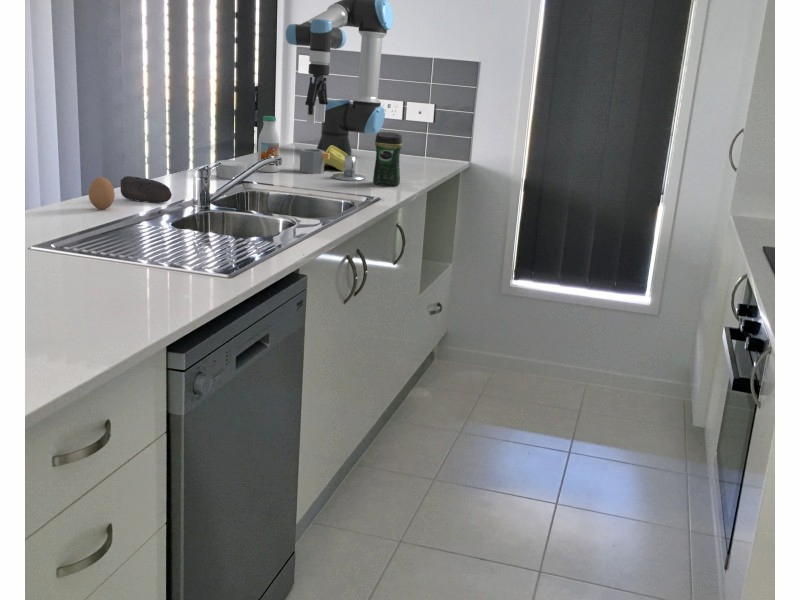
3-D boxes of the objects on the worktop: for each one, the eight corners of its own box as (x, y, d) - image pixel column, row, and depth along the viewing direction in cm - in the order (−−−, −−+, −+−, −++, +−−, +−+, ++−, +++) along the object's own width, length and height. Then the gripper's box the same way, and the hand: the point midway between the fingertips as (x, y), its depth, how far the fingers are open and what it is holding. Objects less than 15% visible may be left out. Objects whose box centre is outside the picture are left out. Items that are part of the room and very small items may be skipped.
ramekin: (227, 181, 290) (227, 166, 288) (208, 176, 297) (208, 160, 295) (254, 179, 298) (254, 164, 296) (234, 173, 305) (234, 159, 303)
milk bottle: (253, 171, 313) (254, 115, 307) (264, 168, 320) (265, 114, 314) (271, 173, 310) (273, 118, 304) (282, 171, 317) (284, 116, 311)
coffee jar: (401, 184, 310) (405, 132, 304) (396, 187, 302) (400, 134, 297) (375, 181, 311) (378, 129, 306) (370, 184, 304) (373, 132, 298)
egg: (117, 211, 234) (117, 179, 232) (92, 212, 231) (91, 179, 228) (111, 206, 240) (110, 174, 237) (86, 207, 236) (85, 175, 234)
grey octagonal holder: (304, 169, 325) (305, 148, 323) (331, 172, 324) (332, 150, 321) (297, 172, 318) (298, 150, 315) (324, 175, 316) (325, 153, 313)
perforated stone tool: (175, 202, 251) (175, 179, 249) (167, 206, 246) (167, 182, 244) (127, 197, 253) (127, 174, 251) (119, 200, 248) (118, 177, 246)
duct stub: (337, 174, 320) (339, 152, 317) (368, 177, 318) (370, 156, 315) (328, 178, 309) (329, 156, 306) (360, 182, 306) (361, 160, 304)
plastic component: (349, 166, 326) (326, 153, 324) (339, 182, 328) (316, 170, 326) (350, 155, 344) (328, 142, 342) (341, 170, 346) (319, 158, 344)
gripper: (318, 63, 323) (315, 120, 328) (299, 62, 299) (296, 123, 305) (337, 65, 322) (334, 122, 327) (319, 64, 298) (316, 125, 304)
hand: (315, 123), depth 316 cm, fingers open, 13 cm apart
